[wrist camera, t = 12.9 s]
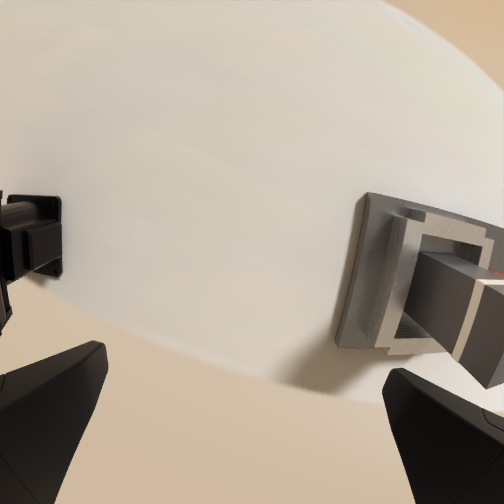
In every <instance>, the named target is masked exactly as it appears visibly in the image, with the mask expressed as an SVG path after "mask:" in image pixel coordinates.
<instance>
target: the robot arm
mask: <svg viewBox="0 0 504 504" xmlns="http://www.w3.org/2000/svg"><path fill="white" fill-rule="evenodd" d="M2 193H3V190H0V336H1V335H2V333H1V331H2V329H3V327H4V326H5V324H6V323H7V321H8V320H9V318H10V317H11V315H12V314H13V313H12V308H11V306H10V304H9V298H8V292H7V285H9V284H10V283H12V282H14V281H16V280H18V279H20V278H21V277H23V276H25V275H27V274H29V273H31V272H35V273H40V274H44V275H49V276H54V277H58V276H60V275H61V274H62V271H63V270H62V225H61V205H62V202H61V199H60V197H58V196H43V195H19V194H12V195H9V196H8V198H7V204H6V205H1V199H2ZM55 200H56V203H57V204H56V205H55ZM56 269H57V270H58V272H57V271H56ZM107 372H108V361H107V352H106V346H105V344H104V343H101V342H97V341H89V342H87V343H84V344H82V345H79V346H77V347H74V348H72V349H69V350H66V351H64V352H61V353H59V354H56V355H53V356H51V357H48V358H45V359H43V360H40V361H38V362H35V363H32V364H30V365H27V366H24V367H22V368H19V369H16V370H14V371H11V372H8V373H6V375H5V374H2V375H0V504H54V503H55V500H56V497H57V495H58V492H59V490H60V487H61V485H62V482H63V480H64V477H65V475H66V472H67V470H68V467H69V465H70V462H71V460H72V458H73V456H74V453H75V451H76V449H77V447H78V444H79V442H80V440H81V437H82V435H83V433H84V431H85V429H86V427H87V425H88V422H89V420H90V418H91V416H92V413H93V411H94V409H95V406H96V404H97V401H98V398H99V395H100V392H101V389H102V386H103V383H104V380H105V378H106V375H107ZM382 395H383V399H384V403H385V407H386V411H387V415H388V419H389V423H390V427H391V430H392V433H393V436H394V439H395V442H396V445H397V448H398V451H399V453H400V456H401V459H402V462H403V465H404V468H405V471H406V474H407V477H408V480H409V483H410V487H411V490H412V493H413V496H414V500H415V503H416V504H504V418H503V417H501V416H498V415H496V414H494V413H492V412H490V411H488V410H486V409H483V408H481V407H479V406H477V405H475V404H473V403H471V402H469V401H467V400H465V399H463V398H461V397H459V396H457V395H455V394H453V393H451V392H449V391H447V390H445V389H443V388H441V387H439V386H437V385H435V384H433V383H431V382H429V381H427V380H425V379H423V378H421V377H419V376H417V375H416V374H414V373H412V372H410V371H408V370H406V369H404V368H394V369H392V370H391V371H390V373H389V375H388V377H387V379H386V382H385V384H384V386H383V389H382Z"/></svg>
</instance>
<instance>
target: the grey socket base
mask: <svg viewBox="0 0 504 504" xmlns="http://www.w3.org/2000/svg"><path fill="white" fill-rule="evenodd" d="M419 251H425V252H435V253H445V254H453V255H455V256H457V257H460V258H462V259H464V260H467V261H469V262H471V263H473V264H475V265H478V266H480V267H482V268H484V269H486V270H489V271H491V272H493V273H495V274H497V275H499V276H501V277H503V278H504V229H503V228H500V227H497V226H494V225H491V224H488V223H485V222H482V221H479V220H476V219H472V218H469V217H466V216H462V215H459V214H455V213H452V212H448V211H445V210H441V209H438V208H434V207H430V206H426V205H422V204H418V203H414V202H410V201H406V200H402V199H398V198H394V197H389V196H385V195H381V194H376V193H370V192H367V196H366V202H365V209H364V215H363V220H362V226H361V232H360V237H359V242H358V247H357V252H356V257H355V262H354V267H353V271H352V276H351V280H350V284H349V289H348V293H347V297H346V301H345V305H344V309H343V313H342V317H341V320H340V324H339V328H338V331H337V335H336V339H335V343H336V345H337V346H338V348H382V349H383V350H384V351H385V353H386V354H387V355H410V354H426V353H439V352H447V351H446V350H445V349H444V348H443V347H442V346H441V345H440V344H439V343H438V342H437V341H436V340H435V339H434V338H433V337H431V336H430V335H429V334H428V333H427V332H426V331H425V330H424V329H423V328H422V327H421V326H420V325H418V324H417V323H416V322H415V321H414V320H413V319H412V318H411V317H410V316H408V315H407V314H406V313H405V312H404V307H405V303H406V299H407V295H408V292H409V288H410V285H411V281H412V277H413V273H414V269H415V265H416V261H417V257H418V252H419Z"/></svg>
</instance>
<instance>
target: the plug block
mask: <svg viewBox="0 0 504 504" xmlns="http://www.w3.org/2000/svg"><path fill="white" fill-rule="evenodd" d="M404 312H405V313H406V314H407V315H408V316H410V317H411V318H412V319H413V320H414V321H415V322H416V323H417V324H418V325H420V326H421V327H422V328H423V329H424V330H425V331H426V332H427V333H428V334H429V335H430V336H431V337H433V338H434V339H435V340H436V341H437V342H438V343H439V344H440V345H441V346H442V347H443V348H444V349H445V350H446V351H447V352H448V353H450V354H451V357H452V358H453V359H454V360H455V361H456V362H457V363H460V364H461V365H462V366H463V367H464V368H465V369H466V370H467V371H468V372H469V373H470V374H471V375H472V376H473V377H474V378H475V379H476V380H477V381H478V382H479V383H480V384H481V385H482V386H483V387H484V388H485V389H489V388H491V387H494V386H497V385H499V384H502V383H504V278H503V277H501V276H499V275H497V274H495V273H493V272H491V271H489V270H486V269H484V268H482V267H480V266H478V265H475V264H473V263H471V262H469V261H467V260H464V259H462V258H460V257H457V256H455V255H453V254H445V253H435V252H425V251H419V252H418V257H417V261H416V265H415V269H414V273H413V277H412V281H411V285H410V288H409V292H408V295H407V299H406V303H405V307H404Z"/></svg>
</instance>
